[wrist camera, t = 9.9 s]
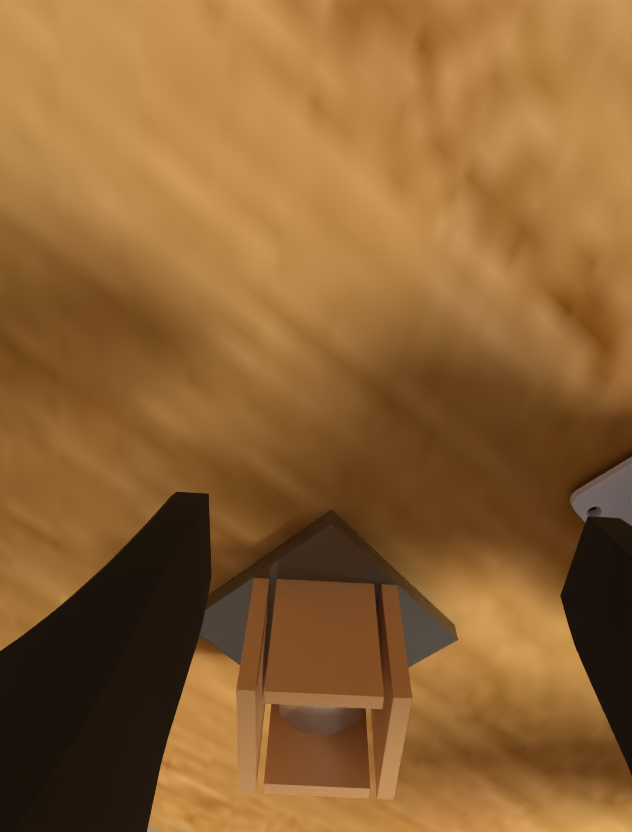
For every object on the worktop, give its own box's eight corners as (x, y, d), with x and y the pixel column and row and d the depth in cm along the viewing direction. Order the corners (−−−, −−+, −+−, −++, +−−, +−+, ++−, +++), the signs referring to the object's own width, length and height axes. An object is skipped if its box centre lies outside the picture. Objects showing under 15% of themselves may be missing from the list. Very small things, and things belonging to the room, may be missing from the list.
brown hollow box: (382, 680, 26) (393, 799, 22) (254, 674, 26) (239, 792, 22) (396, 585, 23) (412, 698, 19) (253, 578, 23) (236, 689, 19)
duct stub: (454, 624, 26) (475, 717, 22) (314, 703, 28) (312, 798, 24) (331, 510, 23) (331, 593, 19) (189, 609, 25) (164, 699, 22)
